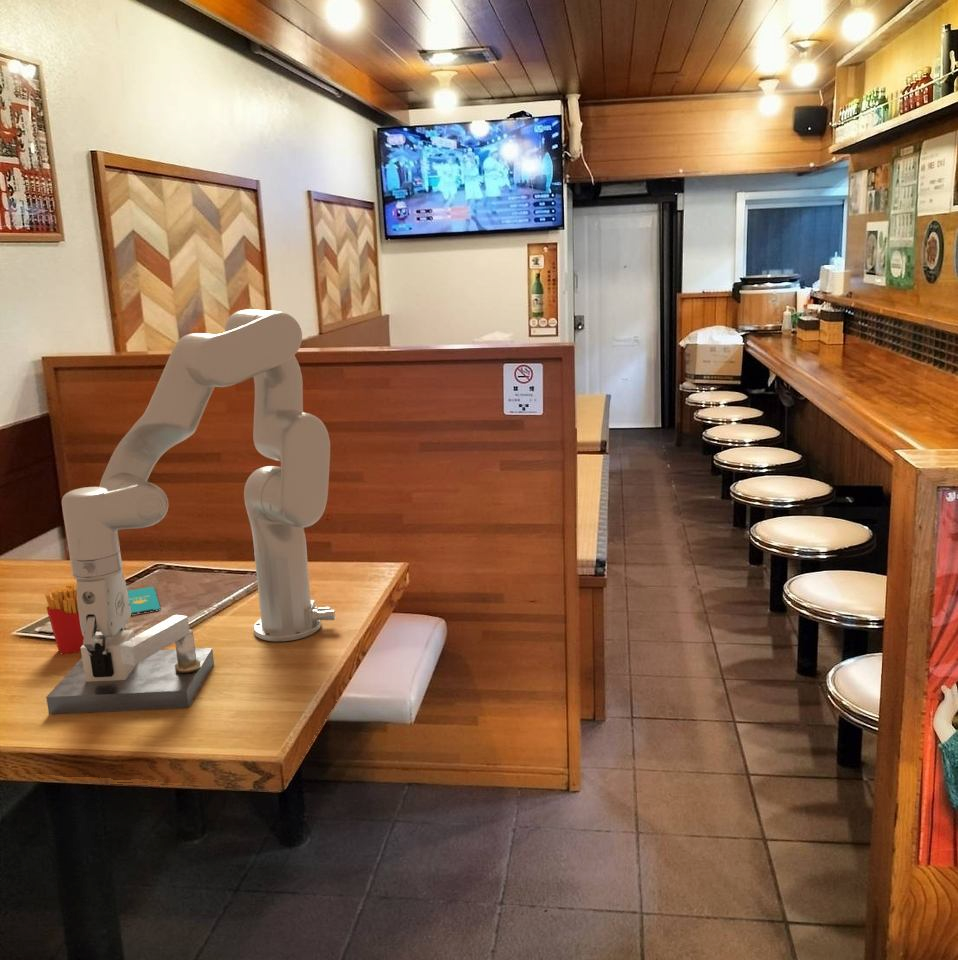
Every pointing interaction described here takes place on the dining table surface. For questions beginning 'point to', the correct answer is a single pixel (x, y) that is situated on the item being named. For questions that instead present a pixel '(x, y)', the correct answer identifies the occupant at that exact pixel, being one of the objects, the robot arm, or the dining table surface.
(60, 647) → the french fries
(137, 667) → the base plate
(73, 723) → the dining table surface
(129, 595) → the smartphone
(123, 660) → the white bent handle
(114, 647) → the cover cap
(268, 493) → the robot arm
